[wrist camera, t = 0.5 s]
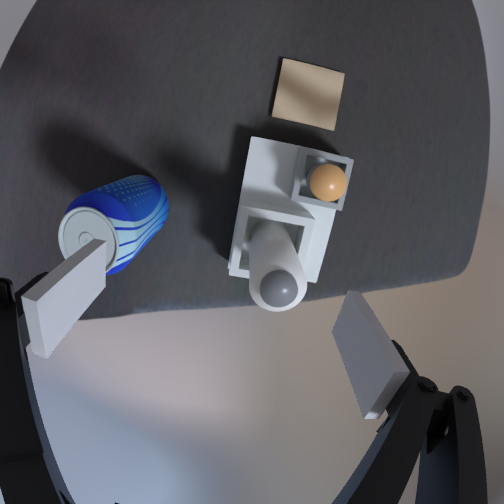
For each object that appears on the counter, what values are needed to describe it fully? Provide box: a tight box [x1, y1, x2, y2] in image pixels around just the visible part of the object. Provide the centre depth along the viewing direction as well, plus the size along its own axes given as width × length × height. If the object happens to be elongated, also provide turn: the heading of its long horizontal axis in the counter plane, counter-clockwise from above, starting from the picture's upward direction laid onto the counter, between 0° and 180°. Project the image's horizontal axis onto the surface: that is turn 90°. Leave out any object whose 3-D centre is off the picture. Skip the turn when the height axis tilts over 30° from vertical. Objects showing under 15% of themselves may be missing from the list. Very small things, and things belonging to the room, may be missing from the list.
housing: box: [228, 136, 354, 283], centre depth 37 cm, size 17×12×6 cm
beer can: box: [58, 175, 169, 275], centre depth 32 cm, size 8×8×16 cm
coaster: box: [272, 58, 345, 131], centre depth 34 cm, size 8×8×1 cm
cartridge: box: [249, 219, 307, 311], centre depth 32 cm, size 5×5×14 cm
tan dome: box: [305, 162, 347, 202], centre depth 33 cm, size 4×4×3 cm
